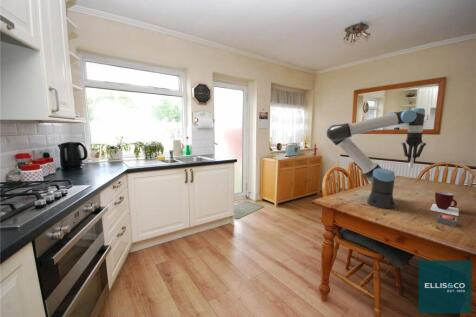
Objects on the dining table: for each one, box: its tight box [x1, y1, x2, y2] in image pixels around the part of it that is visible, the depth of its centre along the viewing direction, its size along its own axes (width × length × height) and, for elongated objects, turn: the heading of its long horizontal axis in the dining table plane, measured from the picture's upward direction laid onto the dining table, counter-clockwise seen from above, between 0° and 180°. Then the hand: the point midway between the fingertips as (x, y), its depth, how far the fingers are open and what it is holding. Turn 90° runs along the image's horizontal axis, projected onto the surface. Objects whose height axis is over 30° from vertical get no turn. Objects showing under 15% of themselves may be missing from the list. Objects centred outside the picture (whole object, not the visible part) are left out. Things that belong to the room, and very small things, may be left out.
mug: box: [434, 190, 458, 210], centre depth 126 cm, size 10×8×10 cm
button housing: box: [436, 213, 458, 228], centre depth 108 cm, size 7×7×3 cm
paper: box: [429, 203, 460, 217], centre depth 127 cm, size 16×12×1 cm
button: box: [441, 214, 455, 220], centre depth 108 cm, size 4×4×2 cm
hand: (410, 167), depth 138 cm, fingers closed
